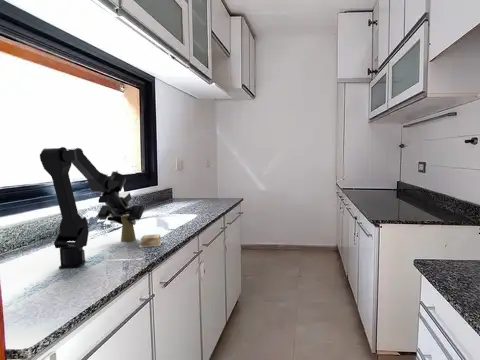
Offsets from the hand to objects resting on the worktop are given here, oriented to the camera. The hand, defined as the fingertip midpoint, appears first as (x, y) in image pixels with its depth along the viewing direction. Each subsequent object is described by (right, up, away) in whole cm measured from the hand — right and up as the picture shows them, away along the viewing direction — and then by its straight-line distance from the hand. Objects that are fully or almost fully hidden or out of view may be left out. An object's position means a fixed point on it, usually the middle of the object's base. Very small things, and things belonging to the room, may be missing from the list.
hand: (129, 224), depth 156 cm
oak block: (+12, -7, -10) cm, 17 cm away
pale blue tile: (+9, -7, -10) cm, 16 cm away
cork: (0, -7, -1) cm, 7 cm away
